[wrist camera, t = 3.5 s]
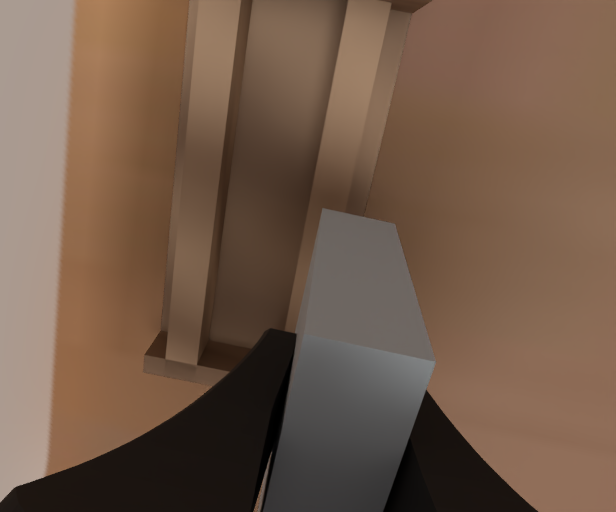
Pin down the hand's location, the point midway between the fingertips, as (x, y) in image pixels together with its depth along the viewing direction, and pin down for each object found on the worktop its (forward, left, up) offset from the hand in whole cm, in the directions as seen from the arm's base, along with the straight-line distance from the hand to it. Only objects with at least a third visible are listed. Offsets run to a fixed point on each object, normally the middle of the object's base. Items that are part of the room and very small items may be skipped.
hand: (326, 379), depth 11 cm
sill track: (-1, +3, -9) cm, 10 cm away
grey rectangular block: (0, 0, -2) cm, 2 cm away
